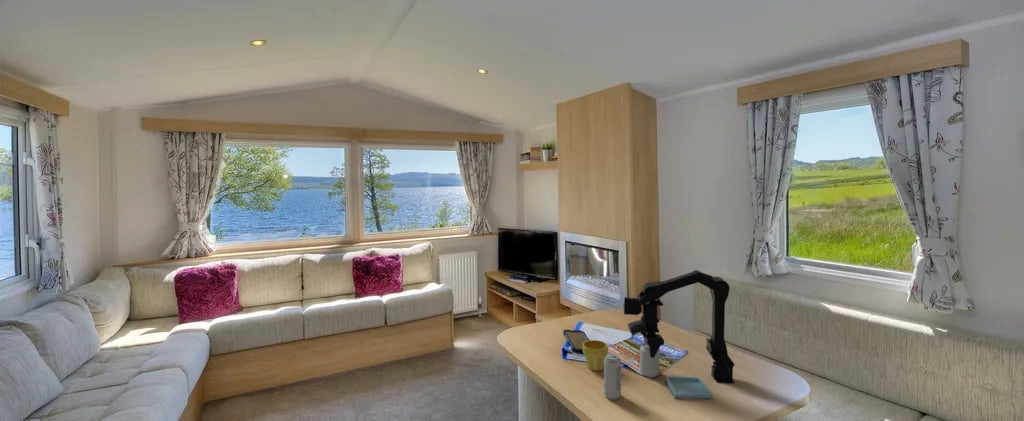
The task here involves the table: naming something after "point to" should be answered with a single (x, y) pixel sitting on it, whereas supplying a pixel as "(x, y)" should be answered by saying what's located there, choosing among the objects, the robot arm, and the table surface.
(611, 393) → the energy drink can
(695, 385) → the tray
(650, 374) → the can
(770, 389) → the table surface
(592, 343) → the plant pot
